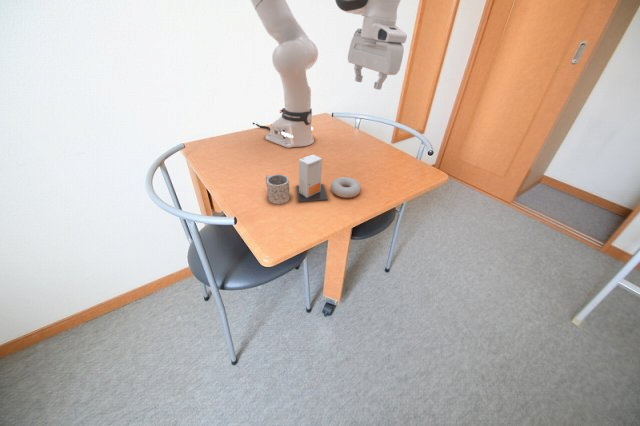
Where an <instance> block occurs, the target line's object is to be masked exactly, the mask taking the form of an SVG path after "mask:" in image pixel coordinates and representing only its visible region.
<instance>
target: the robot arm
mask: <svg viewBox="0 0 640 426" xmlns="http://www.w3.org/2000/svg"><path fill="white" fill-rule="evenodd" d="M334 1H335V3H336V5H337V8H339V10H341V11H343V12H345V13H347V14H353V15H359V16H362V17H363V19H362V26H361V28H357V29H356V30H355V32H354V33H353V36H352V38H351V40H350V45H349V49H348V54H347V62H348V63H350V64H352V65H354V66H353V69H354V75H355V76H354V77H355V78H354V81H355V82H357V83H363V77H364V76H363V75H362V70H363V68H365V69H368V70H371V71H375V72H378V74H377V75H378V79H377V81H374V85H373V89H375V90H377V91H378V90H381V89H382V88H383V84H384V82H385V81H386V79H387V78H388V76H395V75H397V74H398V73H399V72H400V69H401V65H402V62H403V57H404V49H405V48H404V45H403V44H405V43H406V41H407V39H408V36H407V33H406V32H404V31H403V30H402V29H401V28H400V27H398V26H397V25H396V23H397V19H398V17H397V16H398V15H397V14H398V13H397V11H398V8H399V5H400V3H401V0H334ZM250 2H251V4H252V7H253V8H254V11H255V13H256V14H257V16H258V17H259V20H260V22H261V23H262V25H263V27H264V29H265V31H266V33H267V34H268V35H269V36H270V37H271V38H272V39H274V40H275V41H276V42H277V43H278V45H277V46H276V47H275V48H274V50H273V52H272V55H271V60H272V65H273V67H274V70H276V72H277V73H278V75H279V78H280V80H281V85H282V89H283V100H284V101H283V103H284V107H282V109H280V110H279V114H281V116H280V117H278V118H277V119H276V120H275V121H273V122H272V123H271V124H270V127H269V126H266V125H260V124H258V123H257V124H255V123H254V122H252V125H255V126H257V127H258V128H262V129H267V130H268V131H269V133H267V134H266V135H265V140H267V141H268V142H272V143H273V144H277V145H279V146H282V147H284V148H287V149H291V148H298V147H306V146H310V145H312V144H313V143H314V142H315V139H314V134H313V130H314V128H313V127H312V121H313V110H312V89H311V87H310V85H309V83H308V77H307V71H308V70H310V69H311V68H312V67H314V65H315V64H316V63H317V61H318V59H319V50H318V47H317V45H316V43H315V42H314V41H312V40H311V39H310V37H309V36H308V35H307V34H306V32H305V30H304V29H303V27H302V26H301V25H300V23H299V22H298V21H297V19H296V18H295V16H294V14H293V12H292V10H291V8H290V6H289V4H288V2H287V0H250Z"/></svg>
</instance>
